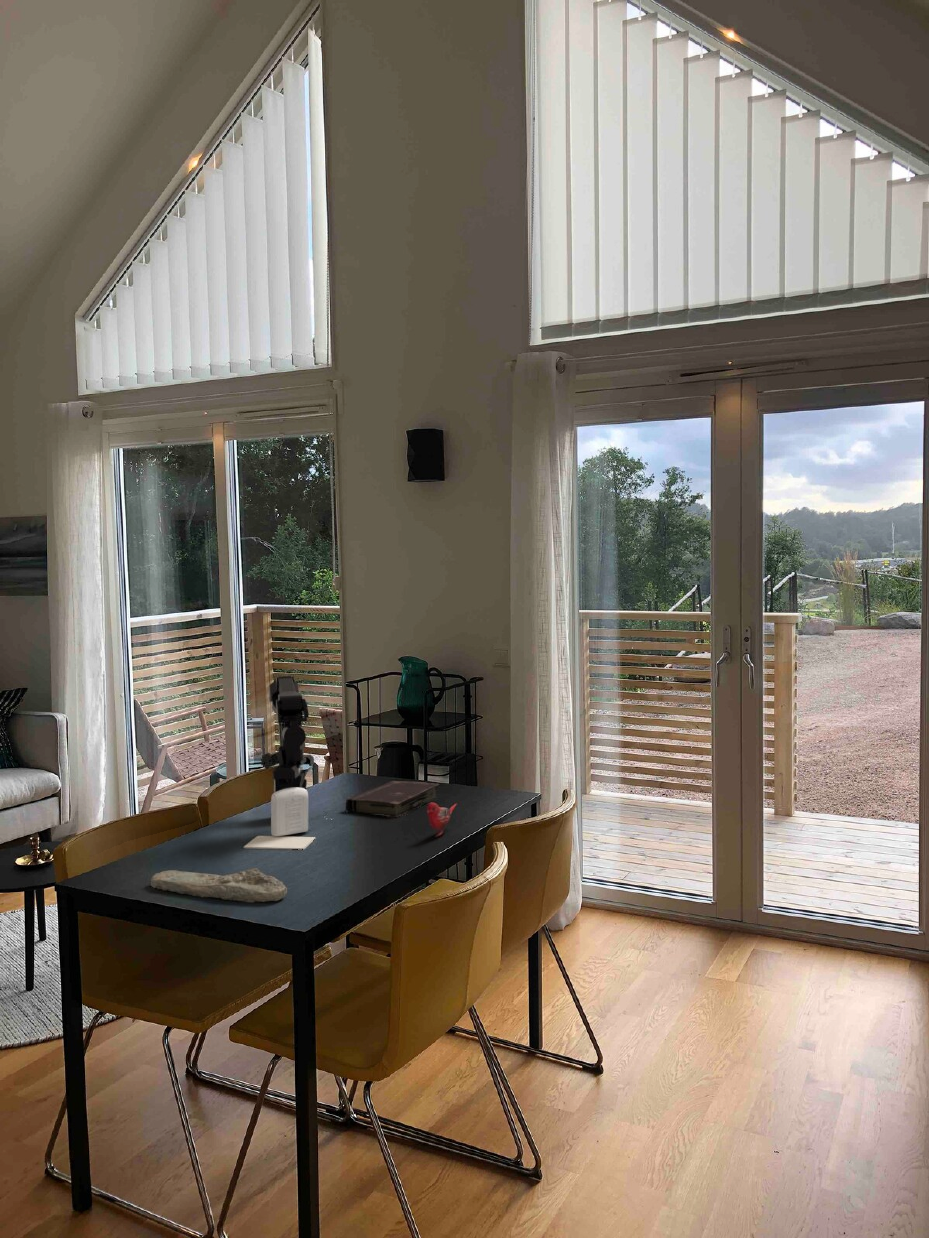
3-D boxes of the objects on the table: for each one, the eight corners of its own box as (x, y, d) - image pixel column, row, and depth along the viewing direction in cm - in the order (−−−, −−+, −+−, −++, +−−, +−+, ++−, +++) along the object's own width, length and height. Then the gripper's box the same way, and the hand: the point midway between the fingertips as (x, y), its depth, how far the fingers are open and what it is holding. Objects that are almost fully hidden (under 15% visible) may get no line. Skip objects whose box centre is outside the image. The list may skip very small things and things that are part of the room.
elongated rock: (169, 883, 237) (141, 899, 228) (166, 861, 236) (138, 877, 227) (297, 891, 224) (273, 908, 215) (295, 868, 223) (270, 884, 214)
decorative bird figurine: (423, 841, 261) (422, 803, 261) (452, 824, 277) (452, 788, 277) (433, 843, 260) (432, 804, 259) (462, 825, 276) (461, 789, 275)
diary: (345, 814, 294) (344, 797, 294) (390, 795, 316) (389, 779, 316) (399, 819, 285) (398, 802, 285) (442, 800, 307) (441, 783, 307)
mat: (257, 837, 269) (257, 835, 269) (315, 838, 266) (315, 837, 266) (243, 848, 259) (243, 846, 259) (303, 849, 256) (303, 848, 256)
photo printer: (304, 826, 275) (303, 783, 273) (310, 831, 272) (310, 787, 270) (268, 833, 269) (268, 789, 268) (275, 838, 266) (274, 793, 264)
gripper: (274, 735, 283) (278, 789, 284) (251, 748, 265) (255, 806, 266) (313, 734, 282) (316, 789, 283) (292, 747, 263) (296, 806, 264)
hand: (295, 797), depth 274 cm, fingers closed
